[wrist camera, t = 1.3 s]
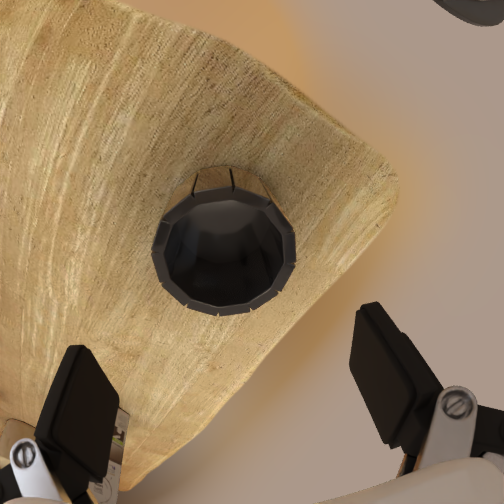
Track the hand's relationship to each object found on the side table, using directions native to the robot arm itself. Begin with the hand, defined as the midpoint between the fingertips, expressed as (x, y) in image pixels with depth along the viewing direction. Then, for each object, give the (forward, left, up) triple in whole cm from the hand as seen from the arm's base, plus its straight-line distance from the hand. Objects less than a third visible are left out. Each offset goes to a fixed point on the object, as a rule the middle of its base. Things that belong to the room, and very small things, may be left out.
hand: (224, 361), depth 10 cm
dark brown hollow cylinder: (0, 0, -12) cm, 12 cm away
